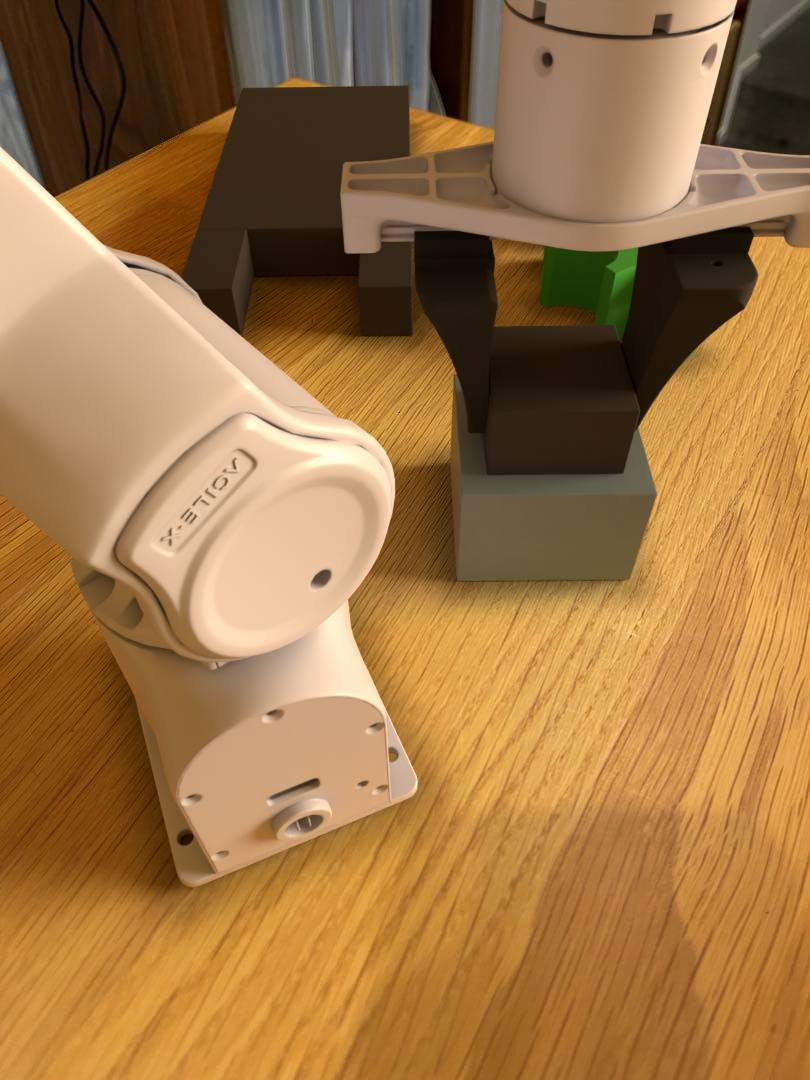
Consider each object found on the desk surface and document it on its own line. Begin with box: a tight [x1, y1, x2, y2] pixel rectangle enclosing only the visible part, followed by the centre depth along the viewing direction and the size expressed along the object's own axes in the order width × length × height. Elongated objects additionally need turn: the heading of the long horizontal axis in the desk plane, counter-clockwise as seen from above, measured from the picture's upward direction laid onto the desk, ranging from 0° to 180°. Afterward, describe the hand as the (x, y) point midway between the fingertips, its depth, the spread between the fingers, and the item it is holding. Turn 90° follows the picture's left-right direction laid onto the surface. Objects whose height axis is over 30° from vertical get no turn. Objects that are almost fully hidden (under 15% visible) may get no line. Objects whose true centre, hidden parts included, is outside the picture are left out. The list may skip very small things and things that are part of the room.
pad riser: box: [449, 373, 658, 582], centre depth 33 cm, size 7×7×5 cm
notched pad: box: [181, 84, 414, 337], centre depth 51 cm, size 26×12×3 cm, turn 0°
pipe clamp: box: [538, 246, 695, 357], centre depth 43 cm, size 11×4×5 cm, turn 32°
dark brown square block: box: [483, 324, 640, 475], centre depth 30 cm, size 5×5×3 cm
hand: (550, 415), depth 31 cm, fingers closed on dark brown square block, 5 cm apart
